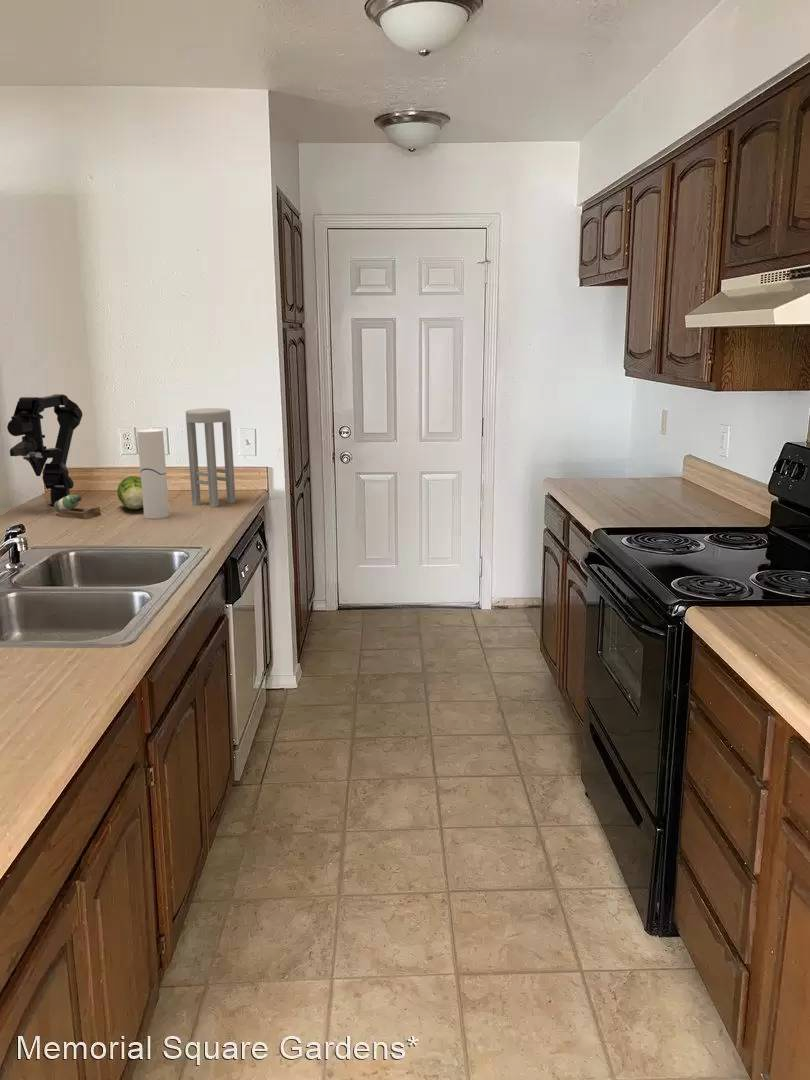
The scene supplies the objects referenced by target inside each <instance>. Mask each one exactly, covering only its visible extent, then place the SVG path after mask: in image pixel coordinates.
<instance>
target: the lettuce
mask: <svg viewBox="0 0 810 1080" xmlns="http://www.w3.org/2000/svg"><path fill="white" fill-rule="evenodd" d="M116 492H117V498H118V500H119V501H120V502H121V504H122V506H124V507H125V508H128V509H129V510H140V509H142V508H143V496H142V485H141V476H140V477H139V476H136V475H135V476H134V475H132V476H131V475H130V476H128V477H126V478H123V479H122V480H121V481H120V483H118V485H117V489H116Z"/></svg>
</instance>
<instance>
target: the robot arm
mask: <svg viewBox="0 0 810 1080" xmlns="http://www.w3.org/2000/svg"><path fill="white" fill-rule="evenodd" d="M49 408H53V412H54V413H55V415H56V416H57V417H56V420H57V422H58V425H59V427H58V428H59V430H58V433H57V437H56V443H55V446H54V447H51V448H50V447H49V448H47V445H46V446H45V445H44V438H46V435H45V434H43V431H42V422H41V421H42V420H43V419H44V416H43V415H42V414H41V413H42V412H44V411H45V409H49ZM82 418H83V411H82V409H81V408H80V406H79V405H78V404H77V403H76V402H74V401H73V400H71V399H70V398H69V397H68V396H67V395H66V394H61V393H60V394H52V395H47V396H41V397H38V396H36V397H35V396H31V397H29V396H27V397H25V396H20V398H18V400H17V403H16V406H15V410H14V413H13V416H11V420H9V422H8V423H7V432H8V434H10V435H11V436H13V437H21V441H20V442H18V443H16V444H15V445H13V446H12V447H11V448H10V449H9V456H10V457H19V456H21V457H22V459H23V460H25V461H27V462H28V463H29V465H30V466H31V468H32V470H33V471H34V474H35V476H36V477H40V476H41V475H42V481H43V484H44V486H45V489H46V490H50V494H49V495H50V503H48V506H54V504H55V502H56V501H58V500H60V499H62V498H64V497H66V496H68V495H70V494H71V493H70V490H71V489H72V488H74V481H73V479H72V477H70V476H69V474H70V473H69V469H68V467H67V461H68V457H69V452H70V447H71V443H72V438H73V435H74V430H75V429H76V428H78V426H80V424H81V421H82ZM48 459H51V461H50V462H49V463H48V462H47V460H48Z"/></svg>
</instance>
